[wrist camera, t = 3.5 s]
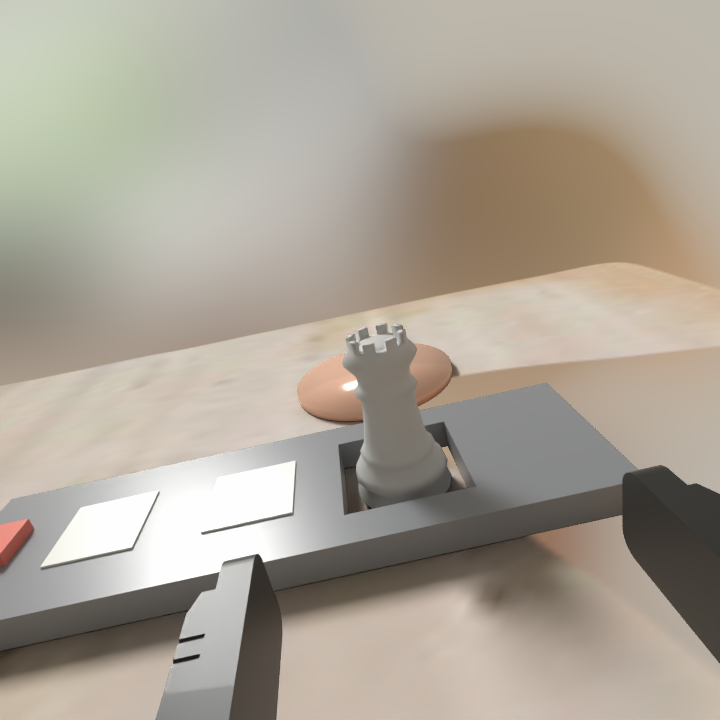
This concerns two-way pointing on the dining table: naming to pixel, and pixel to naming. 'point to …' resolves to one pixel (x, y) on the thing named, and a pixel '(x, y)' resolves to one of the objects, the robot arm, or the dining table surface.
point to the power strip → (292, 515)
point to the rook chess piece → (392, 422)
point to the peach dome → (336, 385)
